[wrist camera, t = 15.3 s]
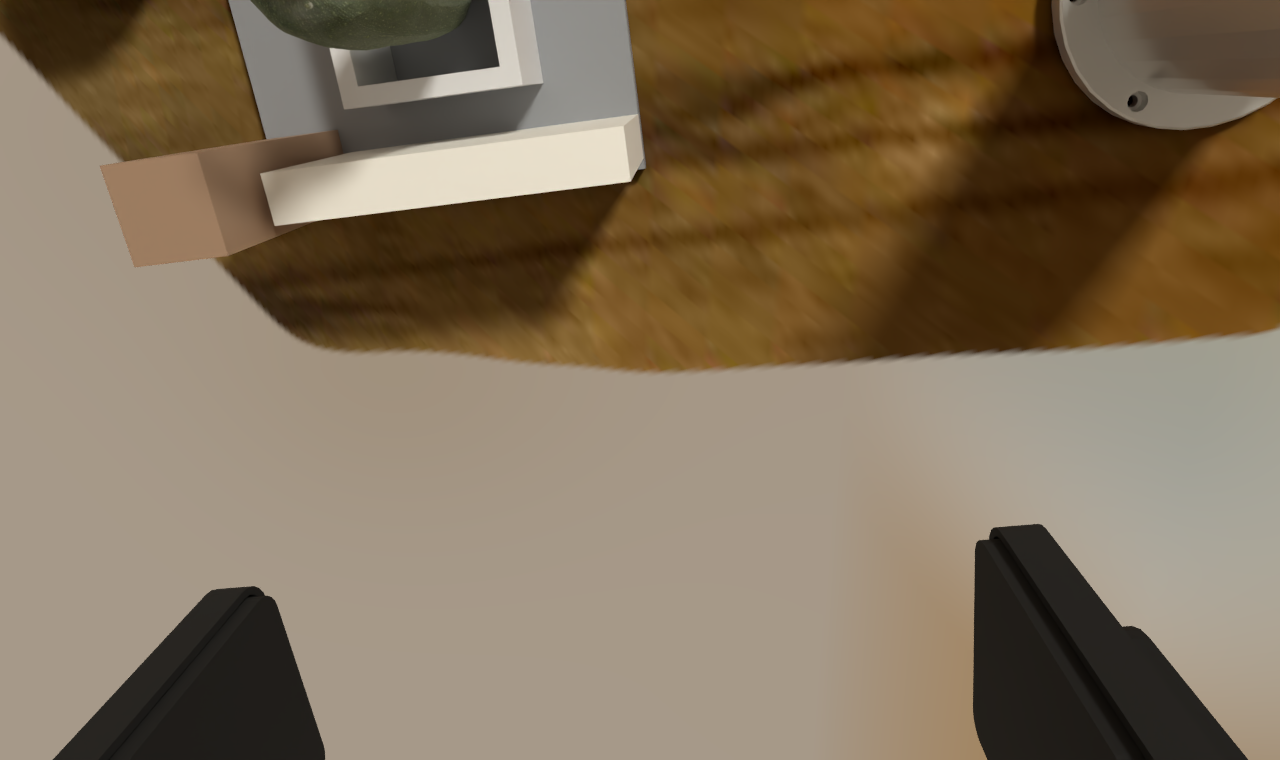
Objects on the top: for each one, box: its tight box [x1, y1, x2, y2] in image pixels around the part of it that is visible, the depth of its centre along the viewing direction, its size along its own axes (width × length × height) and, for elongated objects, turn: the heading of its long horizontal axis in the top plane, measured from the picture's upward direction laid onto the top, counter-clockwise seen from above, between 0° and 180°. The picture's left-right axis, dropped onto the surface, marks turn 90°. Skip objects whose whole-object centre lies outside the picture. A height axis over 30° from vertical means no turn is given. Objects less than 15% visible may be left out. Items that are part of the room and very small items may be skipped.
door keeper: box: [100, 0, 646, 267], centre depth 33 cm, size 18×12×13 cm, turn 97°
